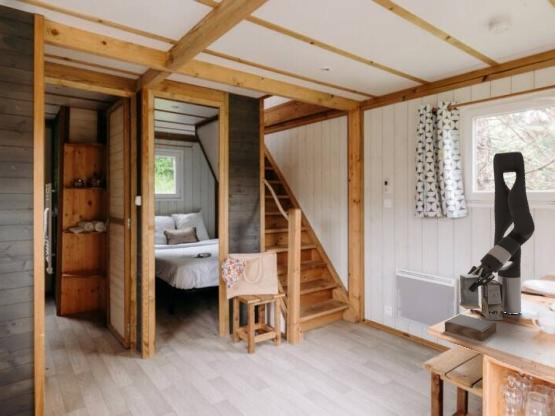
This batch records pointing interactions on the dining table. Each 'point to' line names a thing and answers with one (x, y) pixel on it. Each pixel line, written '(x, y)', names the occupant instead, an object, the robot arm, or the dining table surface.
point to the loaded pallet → (468, 292)
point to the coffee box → (492, 300)
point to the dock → (471, 327)
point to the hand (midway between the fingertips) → (467, 288)
